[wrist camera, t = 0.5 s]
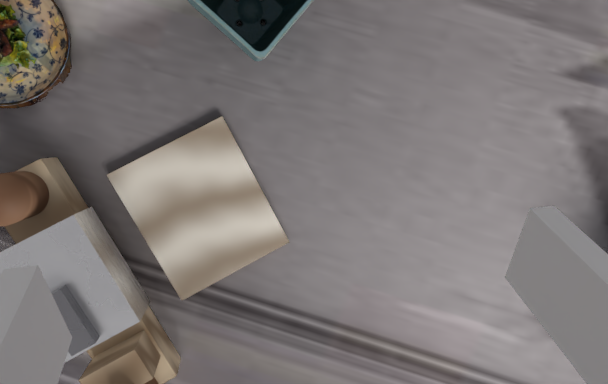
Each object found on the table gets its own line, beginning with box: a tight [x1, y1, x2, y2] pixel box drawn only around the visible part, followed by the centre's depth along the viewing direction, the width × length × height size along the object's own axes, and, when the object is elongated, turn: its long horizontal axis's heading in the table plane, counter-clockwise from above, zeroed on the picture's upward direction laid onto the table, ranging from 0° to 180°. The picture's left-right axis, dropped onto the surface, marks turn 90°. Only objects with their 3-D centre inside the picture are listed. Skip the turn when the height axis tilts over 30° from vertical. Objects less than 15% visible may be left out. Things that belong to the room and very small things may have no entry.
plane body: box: [0, 157, 181, 384], centre depth 37 cm, size 23×6×10 cm, turn 27°
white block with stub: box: [0, 207, 150, 363], centre depth 36 cm, size 10×8×6 cm
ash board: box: [107, 116, 289, 300], centre depth 43 cm, size 14×12×1 cm
